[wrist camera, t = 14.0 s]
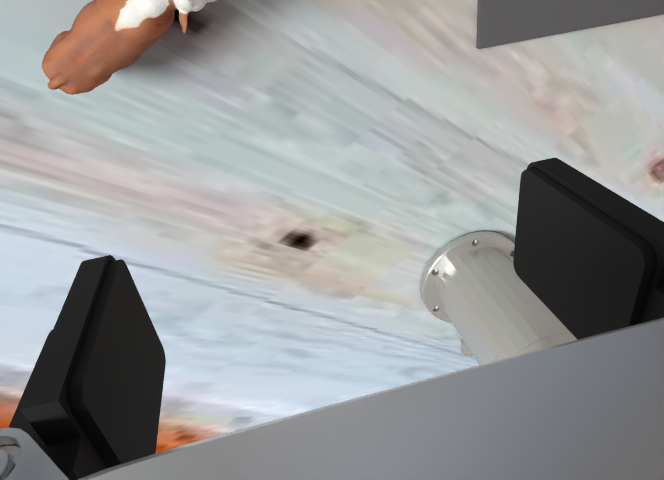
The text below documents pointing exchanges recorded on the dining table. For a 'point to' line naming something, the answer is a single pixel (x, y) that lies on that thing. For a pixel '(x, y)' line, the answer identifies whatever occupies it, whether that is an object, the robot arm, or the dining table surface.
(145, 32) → the bull figurine
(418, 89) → the dining table surface
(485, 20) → the mat
